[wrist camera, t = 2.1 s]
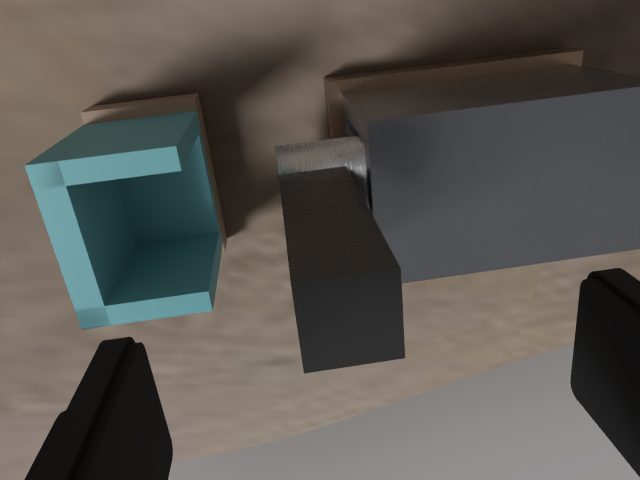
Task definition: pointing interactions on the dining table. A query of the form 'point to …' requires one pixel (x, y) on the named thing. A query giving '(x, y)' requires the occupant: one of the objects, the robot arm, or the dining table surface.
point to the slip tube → (338, 258)
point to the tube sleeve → (496, 159)
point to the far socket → (134, 211)
